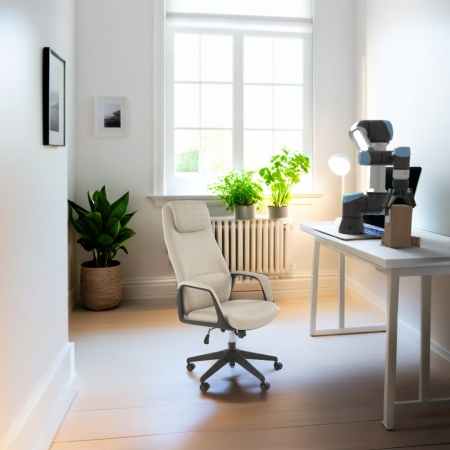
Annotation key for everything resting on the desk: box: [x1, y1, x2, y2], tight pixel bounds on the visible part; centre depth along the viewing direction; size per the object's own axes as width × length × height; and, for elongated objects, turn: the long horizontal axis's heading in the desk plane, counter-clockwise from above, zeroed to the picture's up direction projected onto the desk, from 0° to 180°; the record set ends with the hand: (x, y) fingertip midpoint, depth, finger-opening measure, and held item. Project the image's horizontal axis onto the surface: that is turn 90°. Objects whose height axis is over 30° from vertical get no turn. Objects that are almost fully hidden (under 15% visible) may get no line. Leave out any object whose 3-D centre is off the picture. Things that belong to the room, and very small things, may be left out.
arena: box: [378, 233, 421, 250], centre depth 248 cm, size 15×14×5 cm
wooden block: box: [383, 204, 414, 248], centre depth 246 cm, size 10×10×20 cm
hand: (398, 221), depth 246 cm, fingers open, 13 cm apart
